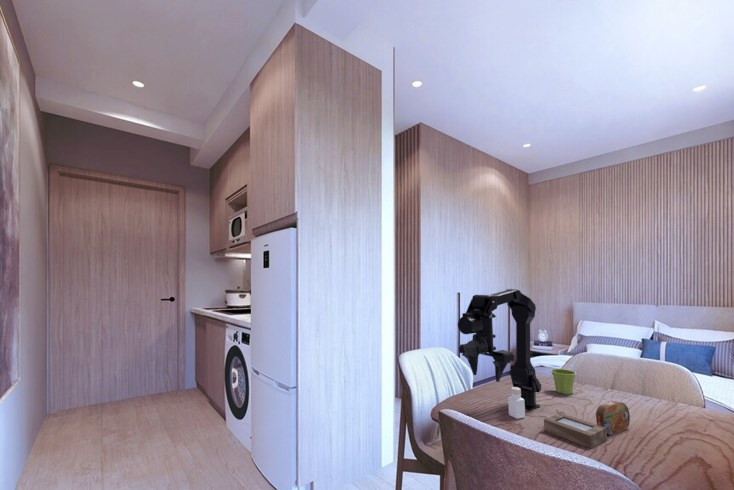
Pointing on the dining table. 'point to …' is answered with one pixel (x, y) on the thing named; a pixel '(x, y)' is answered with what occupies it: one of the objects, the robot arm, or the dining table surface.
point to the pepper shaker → (516, 404)
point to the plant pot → (563, 380)
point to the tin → (613, 417)
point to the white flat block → (575, 424)
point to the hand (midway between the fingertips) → (485, 378)
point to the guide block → (575, 431)
